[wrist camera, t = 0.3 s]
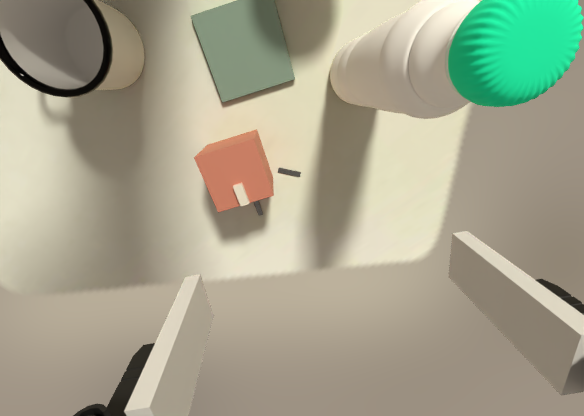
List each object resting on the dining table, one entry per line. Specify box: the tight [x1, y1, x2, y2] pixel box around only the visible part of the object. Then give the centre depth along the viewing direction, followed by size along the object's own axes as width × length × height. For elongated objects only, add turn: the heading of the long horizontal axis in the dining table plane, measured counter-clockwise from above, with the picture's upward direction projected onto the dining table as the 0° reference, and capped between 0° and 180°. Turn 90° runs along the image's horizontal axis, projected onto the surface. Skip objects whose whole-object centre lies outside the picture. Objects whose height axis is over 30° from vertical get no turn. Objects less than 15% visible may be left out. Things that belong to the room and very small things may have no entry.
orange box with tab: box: [194, 130, 274, 212], centre depth 34 cm, size 7×7×8 cm
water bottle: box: [330, 0, 583, 119], centre depth 23 cm, size 7×7×25 cm
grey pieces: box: [254, 168, 301, 215], centre depth 37 cm, size 10×9×4 cm
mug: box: [0, 0, 145, 97], centre depth 27 cm, size 12×10×9 cm
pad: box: [191, 0, 295, 102], centre depth 32 cm, size 9×9×1 cm
